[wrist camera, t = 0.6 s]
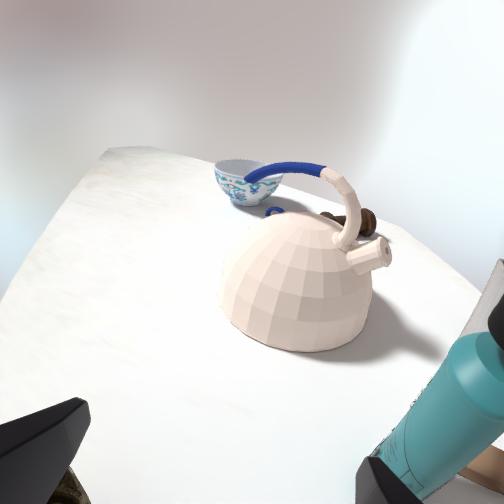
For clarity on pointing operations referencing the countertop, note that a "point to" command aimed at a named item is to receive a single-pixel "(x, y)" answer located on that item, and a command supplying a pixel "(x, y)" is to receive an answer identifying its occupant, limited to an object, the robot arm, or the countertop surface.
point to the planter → (486, 302)
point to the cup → (69, 490)
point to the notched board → (487, 469)
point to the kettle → (301, 272)
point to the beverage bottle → (452, 413)
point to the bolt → (366, 217)
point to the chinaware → (240, 190)
